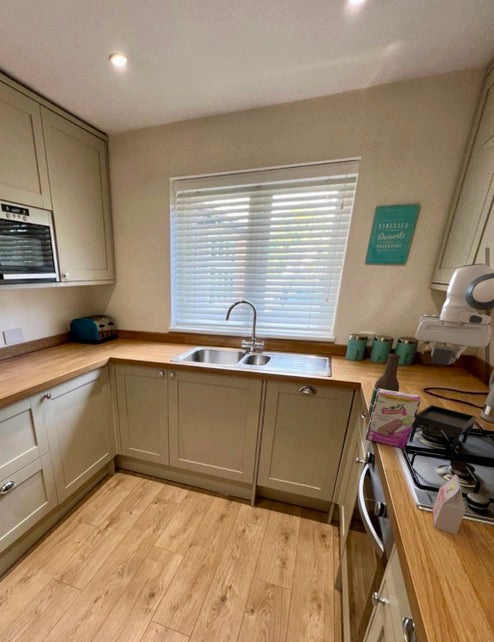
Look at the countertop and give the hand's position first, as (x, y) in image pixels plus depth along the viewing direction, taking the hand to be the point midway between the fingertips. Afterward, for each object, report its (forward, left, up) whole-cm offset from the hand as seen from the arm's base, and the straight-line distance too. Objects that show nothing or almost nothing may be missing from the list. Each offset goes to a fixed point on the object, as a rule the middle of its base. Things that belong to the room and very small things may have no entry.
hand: (444, 356), depth 116 cm
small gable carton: (-22, +64, -24) cm, 72 cm away
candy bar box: (+1, +34, -24) cm, 42 cm away
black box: (0, 0, -2) cm, 2 cm away
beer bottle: (+11, +14, -24) cm, 30 cm away
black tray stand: (-9, +20, -24) cm, 33 cm away
